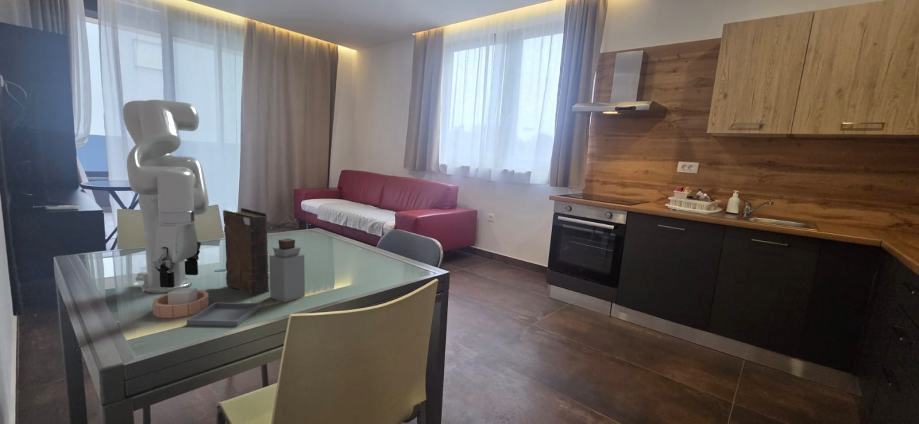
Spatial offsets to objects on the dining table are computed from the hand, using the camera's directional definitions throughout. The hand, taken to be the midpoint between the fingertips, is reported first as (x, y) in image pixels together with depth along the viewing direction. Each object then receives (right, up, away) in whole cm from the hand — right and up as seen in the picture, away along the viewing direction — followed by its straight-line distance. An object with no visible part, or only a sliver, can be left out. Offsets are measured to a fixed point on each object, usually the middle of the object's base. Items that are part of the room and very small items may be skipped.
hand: (180, 280), depth 105 cm
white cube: (+1, -8, 0) cm, 8 cm away
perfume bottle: (+23, -8, +13) cm, 28 cm away
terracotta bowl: (0, -8, +1) cm, 8 cm away
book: (+8, -6, +19) cm, 21 cm away
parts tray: (+14, -9, -3) cm, 17 cm away
